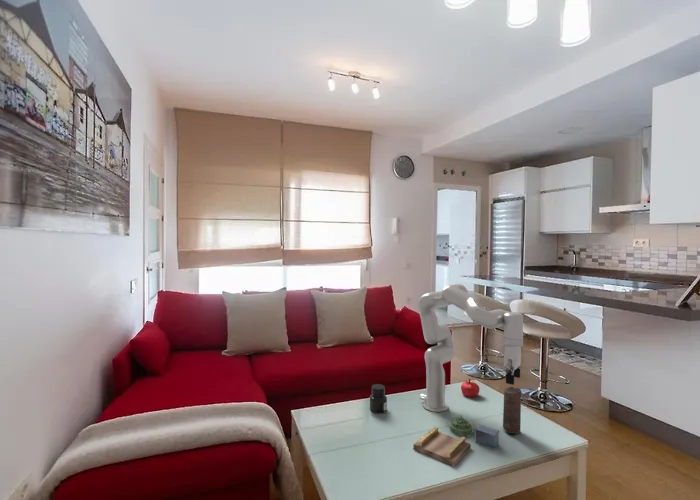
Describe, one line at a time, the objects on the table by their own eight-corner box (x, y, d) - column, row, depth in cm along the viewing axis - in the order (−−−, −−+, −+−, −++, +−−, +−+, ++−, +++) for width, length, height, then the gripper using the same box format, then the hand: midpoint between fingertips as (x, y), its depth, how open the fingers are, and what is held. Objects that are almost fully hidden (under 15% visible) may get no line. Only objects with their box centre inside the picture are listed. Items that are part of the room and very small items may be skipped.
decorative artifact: (472, 427, 170) (450, 423, 173) (472, 412, 169) (450, 409, 173) (472, 438, 160) (448, 434, 164) (472, 422, 160) (448, 419, 163)
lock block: (475, 443, 157) (475, 429, 156) (479, 438, 160) (480, 424, 160) (494, 450, 151) (494, 435, 151) (498, 444, 155) (498, 431, 155)
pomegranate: (477, 400, 198) (477, 384, 198) (458, 396, 203) (459, 380, 203) (481, 393, 207) (481, 377, 206) (463, 389, 212) (463, 374, 211)
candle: (522, 437, 161) (523, 392, 160) (504, 435, 162) (505, 391, 162) (518, 428, 168) (518, 385, 168) (501, 426, 170) (501, 384, 169)
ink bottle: (389, 413, 183) (389, 389, 183) (372, 414, 181) (372, 391, 181) (383, 404, 193) (383, 382, 193) (367, 406, 191) (367, 383, 190)
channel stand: (413, 448, 152) (413, 439, 152) (431, 433, 164) (431, 424, 164) (454, 466, 140) (454, 456, 140) (470, 448, 152) (470, 438, 152)
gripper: (509, 335, 167) (509, 372, 167) (498, 344, 153) (498, 384, 153) (527, 338, 162) (527, 376, 162) (517, 347, 148) (517, 388, 149)
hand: (513, 380), depth 158 cm, fingers open, 9 cm apart
